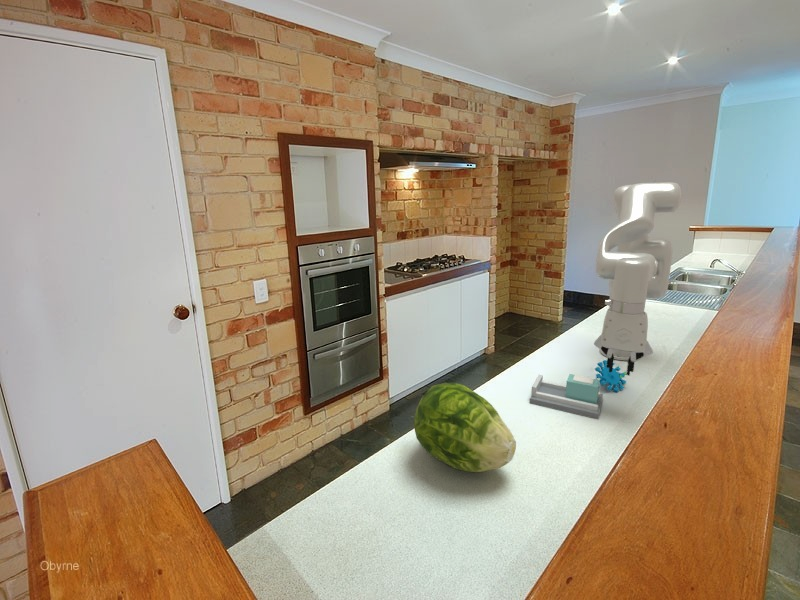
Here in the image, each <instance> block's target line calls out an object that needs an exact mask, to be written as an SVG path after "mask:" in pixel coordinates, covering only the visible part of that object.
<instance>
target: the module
mask: <svg viewBox="0 0 800 600" xmlns="http://www.w3.org/2000/svg"><path fill="white" fill-rule="evenodd" d="M599 379H600V378H599ZM599 379H598V378H595V377H589V376H585V375H584V376H583V375H579V374H571V373H569V375H568V377H567V380H566V383H565V385H566V394H565V398H569V399H574V400H578V401H583V402H587V403H592V404H597V400H598V393H599V392H600V385H601V384H600V380H599Z"/></svg>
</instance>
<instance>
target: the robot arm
mask: <svg viewBox="0 0 800 600" xmlns="http://www.w3.org/2000/svg"><path fill="white" fill-rule="evenodd" d="M682 198H683V197H682V188H681V186H680V185H679V183H677V182H672V181H671V182H670V181H669V182H664V181H663V182H639V183H635V184H626V185H622V186H619V187H617V188H616V189H615V190H614V193H613V206H614V208H615V210H616V214H617V217H618V221H619V222H618V224H616V225H615V226H613V227H612V228H611V229H609V230H608V231H607V233H606V234H604V236H603V237H602V239H601V240H600V243H599V244H598V248H597V254H596V261H595V273H596V275H597V276H598V277H599V278H600V279H603V280H608V287H609V299H605V301H604V305H605V306H608V309H607V310H606V313H605V316H604V320H603V325H602V330H601V334H600V335H599V336H598V337H597V338H596V339H595V341H594V342H593V345H594V346H595V347H596V348H598V349H599V353H600V354H601V355H602V356H604V357H606V358H607V368H609V372H612V369H613V368H614V365H613V363H614V362H615V361H614V360H616V361H617V360H618V361H627V369H626V373H627V375H626V376H627V377H630V375H631V372H632V373H633V372H634V369H635V362H636V361H638V360H640V359H641V358H644V356H645V357H646V356H649V355H652V354H653V352H654V351H653V348H652V347H651V345H650V343H649V341H648V327H649V326H648V325H649V321H648V320H649V319H648V313H647V312H646V311H645V309H646V300H647V299H662V298H664V297H665V296H666V294H667V293H668V288H669V284H670V283H669V282H670V274H671V269H672V261H673V251H674V250H673V244H672V243H673V242H672V241H671V239H668V238H665V237H649V235H650V233H651V232H652V231H653V229H654V225H655V214H656V213H675V212H676V211H677V210H678V209H679V208H680V205H681V203H682ZM616 247H617V249H616V251H611V250H612V249H614V248H616Z"/></svg>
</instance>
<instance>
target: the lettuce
mask: <svg viewBox="0 0 800 600" xmlns="http://www.w3.org/2000/svg"><path fill="white" fill-rule="evenodd" d="M413 420H414V421H413V428H414V434H415V438H416V440H417V441H418V442H419V444H420V445H421V447H422V448H423V449H424V450H425V451H426V452H427V454H430V455H431V456H432V457H434V458H435V459H437V460H439V461H441V462H442V463H445V464H446V465H448V466H449V467H451V468H454V469H456V470H459V471H464V472H470V473H471V472H472V473H483V472H487V471H490V470H497V469H501V468H503V467H504V466H506V465H508V464H509V463H510V462H511V461H512V460H513V458H514V456H515V453H516V449H517V442H516V440H515V438H514V435H513V434H512V432H511V430H510V429H509V427H508V426H507V425H506V424H505V422H504V421H503V419H502V417H501V416H500V414H499V412H498V411H497V409H495V407H494V406H493V405H492V404H491V403H490V402H489V401H488V400H487V399H485V398H484V397H483V396H481V395H479V394H478V393H477V392H475V391H474V390H472V389H471V388H469V387H468V386H466V385H463V384H461V383H456V382H443V383H438V384H435V385H431V387H430V388H429V389H428V390H427V391H426V392H425V394H424V395H422V397H421V399H420V401H419V403H418V405H417V407H416V410H415V413H414V418H413Z"/></svg>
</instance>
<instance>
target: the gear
mask: <svg viewBox="0 0 800 600" xmlns="http://www.w3.org/2000/svg"><path fill="white" fill-rule="evenodd" d="M613 366H615V362H613ZM594 370H595V371H596V374H595V375H596V376H595V377H596V378H595V379H599V380H600V384H599V385H601V386H602V387H603V386H605V385H606V384H608V386H606V387H605V388H606V390H607V391H612V390H613V392H614V393H615V392H616V393H618V392H619V391H621V390H624V389H625V387H624V385H626V383H627V381H626V380H625V379H623V378H625V377H626V376H628V375H627V371H623V372H619V371H621V367H620V366H616V367H615V368H614V367H613V369H612V372H609V368H607V360H606V359H604V360H602V361H600V362H598V363H597V366H596V367H595V368H594ZM613 386H614V388H613Z"/></svg>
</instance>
